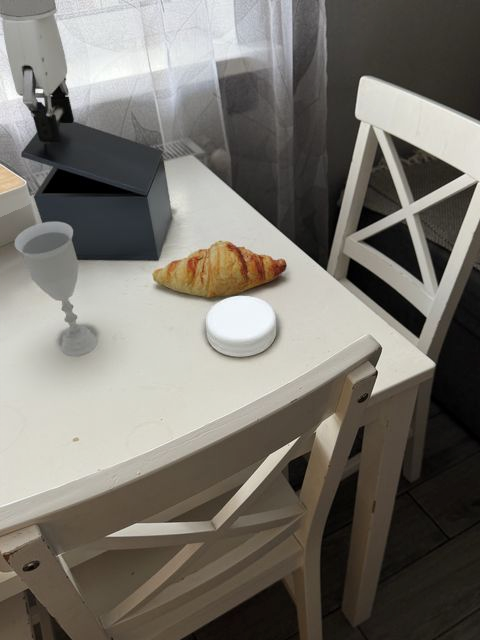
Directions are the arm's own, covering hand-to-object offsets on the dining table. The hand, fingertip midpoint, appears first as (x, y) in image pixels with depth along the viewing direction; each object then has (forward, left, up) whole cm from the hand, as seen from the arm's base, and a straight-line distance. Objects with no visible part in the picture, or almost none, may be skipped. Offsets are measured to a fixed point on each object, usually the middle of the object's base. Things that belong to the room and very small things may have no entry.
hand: (57, 130), depth 92 cm
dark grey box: (+4, +4, -19) cm, 20 cm away
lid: (+4, +4, -4) cm, 7 cm away
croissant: (+27, +9, -20) cm, 34 cm away
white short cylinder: (+39, +3, -20) cm, 44 cm away
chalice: (+24, -15, -20) cm, 35 cm away
